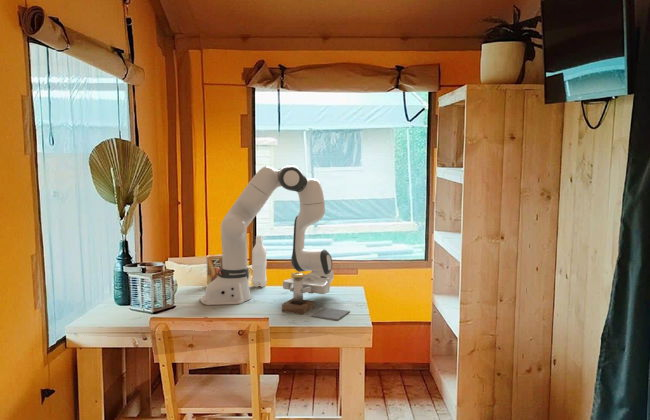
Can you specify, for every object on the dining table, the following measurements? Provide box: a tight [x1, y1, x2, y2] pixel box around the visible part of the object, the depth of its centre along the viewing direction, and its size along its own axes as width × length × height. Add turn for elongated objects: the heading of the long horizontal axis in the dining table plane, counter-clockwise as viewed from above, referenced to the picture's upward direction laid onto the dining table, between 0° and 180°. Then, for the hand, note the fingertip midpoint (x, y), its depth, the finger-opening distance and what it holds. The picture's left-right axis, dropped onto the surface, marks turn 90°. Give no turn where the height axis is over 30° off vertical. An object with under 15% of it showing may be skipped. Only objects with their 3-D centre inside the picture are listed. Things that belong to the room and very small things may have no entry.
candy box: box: [206, 254, 223, 286], centre depth 257 cm, size 9×4×15 cm, turn 111°
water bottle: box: [251, 235, 268, 288], centre depth 256 cm, size 7×7×25 cm
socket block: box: [281, 298, 315, 315], centre depth 220 cm, size 10×10×3 cm
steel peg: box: [290, 272, 306, 305], centre depth 219 cm, size 6×6×15 cm
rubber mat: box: [310, 306, 351, 322], centre depth 213 cm, size 12×12×1 cm
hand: (297, 290), depth 218 cm, fingers closed on steel peg, 4 cm apart
